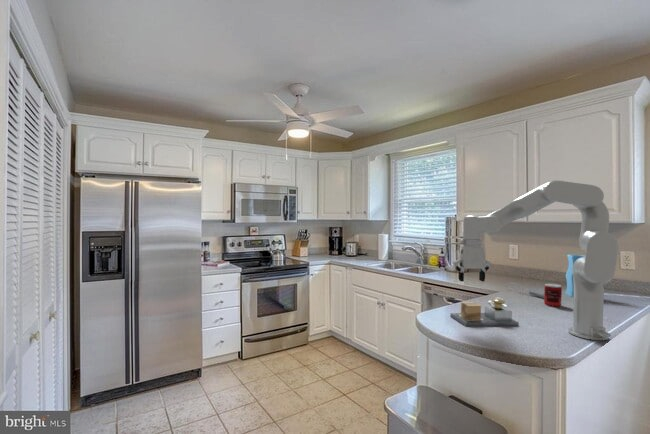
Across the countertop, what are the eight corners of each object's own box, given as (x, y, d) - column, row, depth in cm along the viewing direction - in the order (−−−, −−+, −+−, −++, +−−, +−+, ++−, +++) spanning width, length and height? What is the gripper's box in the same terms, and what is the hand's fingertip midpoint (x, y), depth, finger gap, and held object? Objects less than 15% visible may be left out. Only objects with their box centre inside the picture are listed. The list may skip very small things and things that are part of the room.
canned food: (554, 303, 185) (554, 283, 184) (565, 307, 177) (565, 286, 176) (540, 303, 184) (541, 283, 184) (550, 307, 176) (551, 286, 176)
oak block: (480, 319, 147) (480, 305, 147) (467, 319, 146) (467, 305, 146) (473, 315, 153) (473, 302, 153) (461, 315, 152) (461, 302, 152)
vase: (571, 297, 199) (572, 256, 199) (565, 294, 208) (566, 254, 208) (590, 299, 196) (591, 257, 196) (583, 295, 205) (584, 255, 205)
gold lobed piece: (507, 311, 148) (507, 301, 148) (496, 311, 148) (496, 301, 148) (500, 308, 153) (500, 298, 153) (489, 308, 153) (489, 298, 153)
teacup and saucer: (485, 304, 182) (485, 296, 182) (496, 302, 184) (496, 295, 184) (499, 308, 173) (499, 300, 173) (510, 307, 176) (510, 299, 176)
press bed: (518, 325, 144) (518, 313, 144) (465, 326, 142) (465, 313, 142) (498, 316, 158) (499, 304, 158) (450, 316, 156) (450, 304, 156)
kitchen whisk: (555, 302, 187) (555, 292, 187) (503, 290, 217) (503, 281, 217) (561, 302, 189) (561, 291, 189) (509, 290, 219) (509, 280, 219)
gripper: (457, 243, 145) (457, 282, 145) (495, 243, 146) (494, 282, 146) (449, 242, 152) (449, 279, 152) (485, 242, 154) (485, 279, 154)
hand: (471, 281), depth 149 cm, fingers open, 9 cm apart
